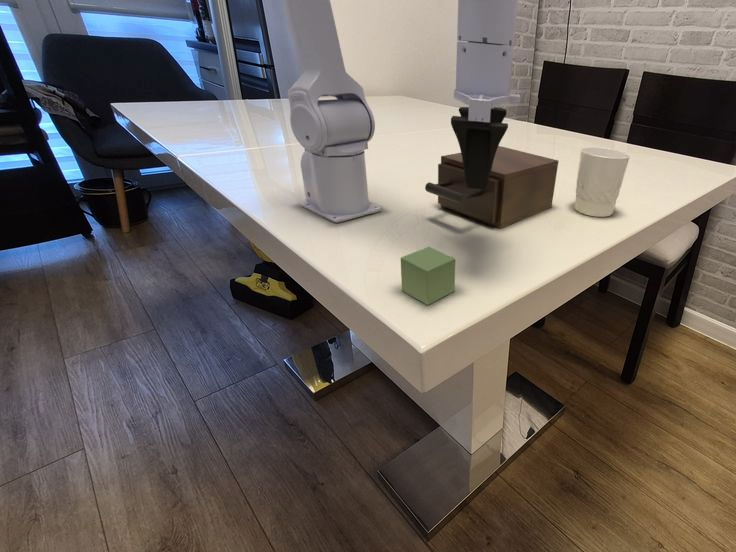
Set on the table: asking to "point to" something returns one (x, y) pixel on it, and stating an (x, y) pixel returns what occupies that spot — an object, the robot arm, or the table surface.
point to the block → (428, 275)
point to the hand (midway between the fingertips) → (478, 178)
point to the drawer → (466, 193)
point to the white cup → (599, 180)
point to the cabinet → (517, 183)
